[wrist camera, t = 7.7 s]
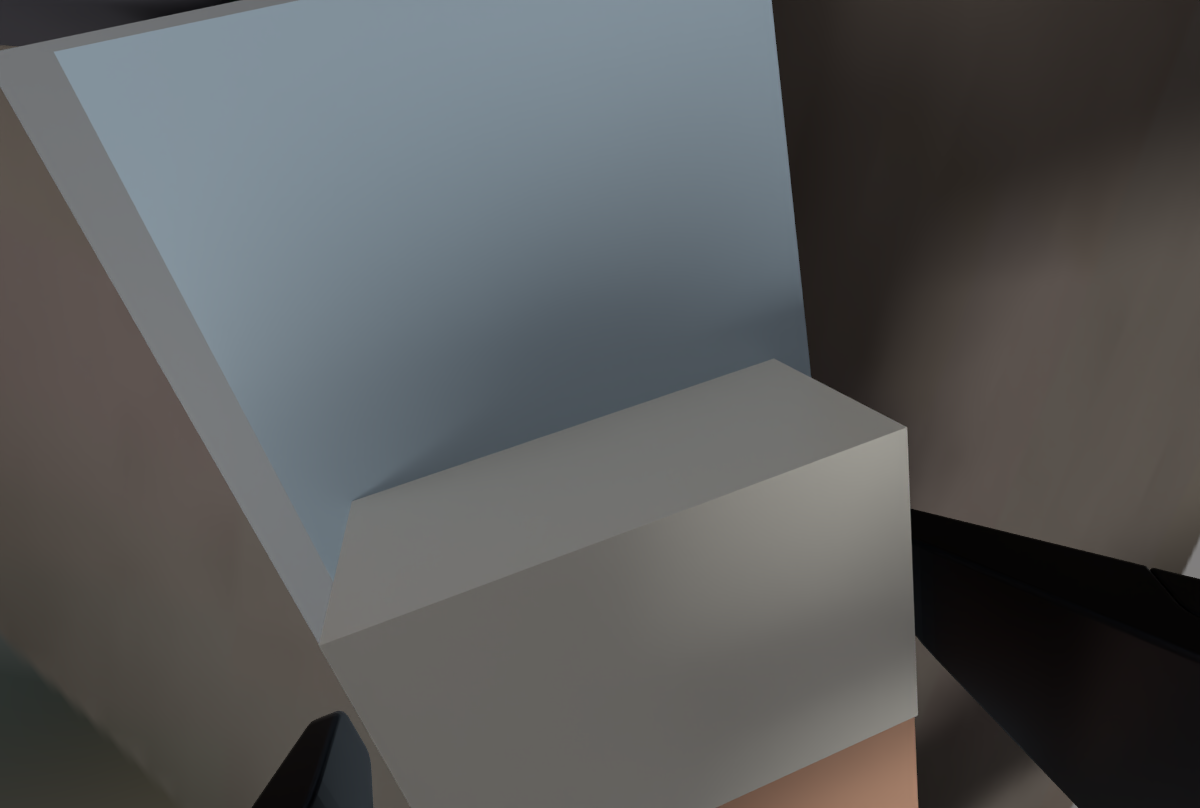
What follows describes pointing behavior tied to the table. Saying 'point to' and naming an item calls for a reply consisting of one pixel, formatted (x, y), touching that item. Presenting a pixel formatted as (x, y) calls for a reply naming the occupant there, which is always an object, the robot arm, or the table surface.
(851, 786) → the salmon brown block
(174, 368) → the dock
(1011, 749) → the table surface
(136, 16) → the grey red white box
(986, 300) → the table surface
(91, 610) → the table surface
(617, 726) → the off-white block
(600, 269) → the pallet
